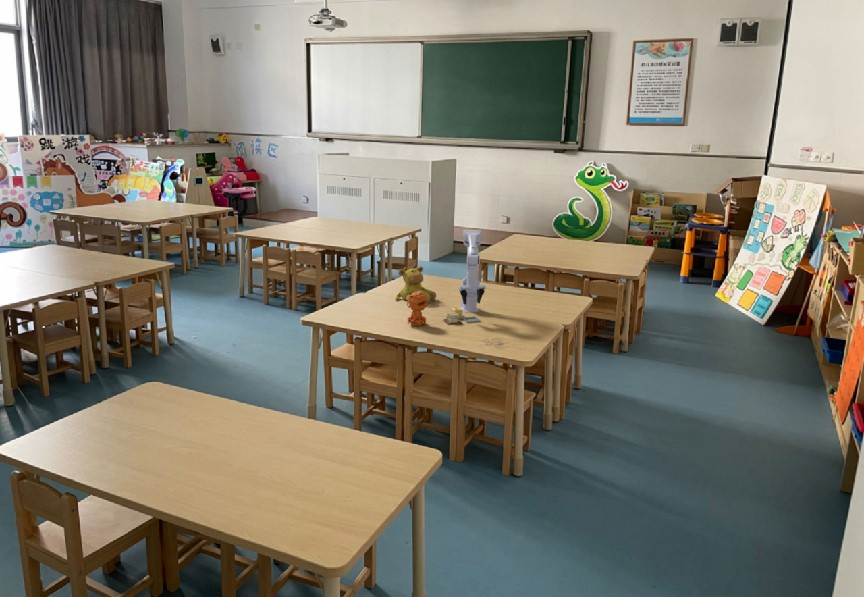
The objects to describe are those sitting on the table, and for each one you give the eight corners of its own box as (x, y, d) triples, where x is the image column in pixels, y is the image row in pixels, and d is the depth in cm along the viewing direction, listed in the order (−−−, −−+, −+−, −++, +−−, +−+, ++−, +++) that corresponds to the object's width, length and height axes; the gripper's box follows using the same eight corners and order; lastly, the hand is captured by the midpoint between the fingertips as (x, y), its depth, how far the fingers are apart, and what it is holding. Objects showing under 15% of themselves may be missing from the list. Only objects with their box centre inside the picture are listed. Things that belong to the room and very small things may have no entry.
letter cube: (450, 316, 354) (451, 307, 353) (458, 315, 356) (459, 307, 355) (454, 318, 350) (454, 310, 349) (462, 318, 352) (462, 309, 351)
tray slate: (461, 319, 350) (461, 317, 350) (474, 318, 353) (475, 316, 352) (467, 323, 343) (467, 321, 343) (480, 322, 346) (480, 320, 346)
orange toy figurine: (429, 327, 335) (430, 293, 330) (408, 328, 333) (408, 293, 329) (426, 321, 346) (427, 287, 341) (405, 321, 344) (405, 288, 339)
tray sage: (447, 316, 355) (447, 314, 355) (460, 315, 358) (460, 313, 357) (452, 320, 348) (452, 318, 348) (465, 319, 351) (465, 317, 351)
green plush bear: (422, 307, 372) (422, 273, 367) (387, 300, 383) (387, 267, 378) (440, 299, 389) (441, 267, 384) (406, 293, 400) (407, 261, 395)
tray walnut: (442, 321, 347) (443, 319, 346) (456, 319, 349) (456, 318, 349) (448, 325, 340) (448, 323, 340) (461, 324, 342) (461, 322, 342)
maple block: (446, 321, 346) (446, 312, 345) (454, 320, 347) (455, 312, 346) (449, 323, 342) (450, 315, 341) (458, 322, 343) (458, 314, 342)
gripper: (462, 280, 336) (461, 306, 340) (488, 278, 341) (487, 304, 344) (457, 277, 342) (456, 302, 346) (483, 275, 347) (482, 301, 351)
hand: (471, 303), depth 346 cm, fingers open, 7 cm apart
